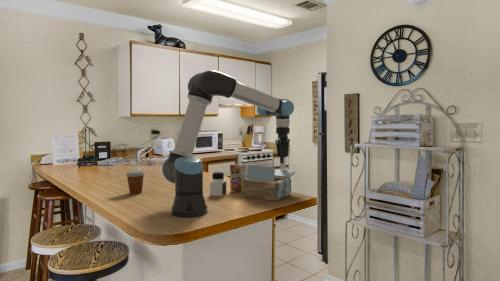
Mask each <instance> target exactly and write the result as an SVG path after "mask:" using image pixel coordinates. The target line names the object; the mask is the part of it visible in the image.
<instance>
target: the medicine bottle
mask: <svg viewBox="0 0 500 281" xmlns="http://www.w3.org/2000/svg"><path fill="white" fill-rule="evenodd" d="M224 176H225V175H224V172H222V171H215V172H213V173H212V181H210V182H209V196H213V197H223V196H225V195H226V194H227V180H224V179H225V178H224Z"/></svg>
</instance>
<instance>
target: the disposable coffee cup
mask: <svg viewBox="0 0 500 281" xmlns="http://www.w3.org/2000/svg"><path fill="white" fill-rule="evenodd" d="M125 175H126V177H127V184H128V190H129V191H128V192H129V194H130V195H139V194H142V193H143V186H144V176H145V171H144V170H139V169H138V170H128V171H126V174H125Z"/></svg>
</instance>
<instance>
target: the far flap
mask: <svg viewBox="0 0 500 281" xmlns="http://www.w3.org/2000/svg"><path fill="white" fill-rule="evenodd" d="M295 173H296V171H295V170H288V169H280V168H279V169H277V168H275V176H274V177H282V178H290V179H291V178H292V176H294V175H295Z"/></svg>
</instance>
